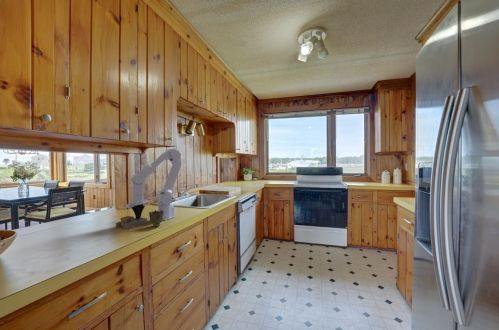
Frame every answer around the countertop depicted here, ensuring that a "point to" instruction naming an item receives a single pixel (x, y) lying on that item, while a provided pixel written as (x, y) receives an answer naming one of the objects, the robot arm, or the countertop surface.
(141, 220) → the channel
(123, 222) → the walnut block
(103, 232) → the countertop surface
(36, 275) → the countertop surface
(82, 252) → the countertop surface
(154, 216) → the cup
